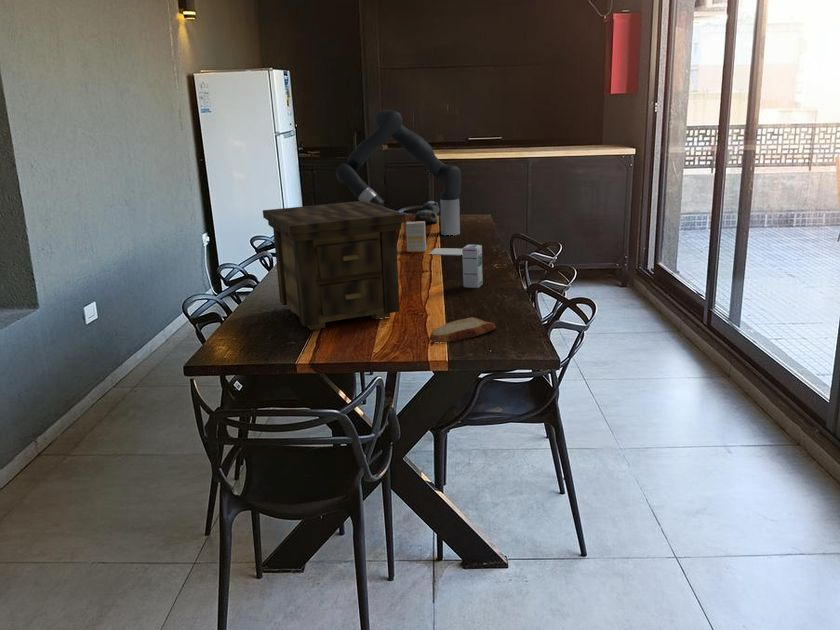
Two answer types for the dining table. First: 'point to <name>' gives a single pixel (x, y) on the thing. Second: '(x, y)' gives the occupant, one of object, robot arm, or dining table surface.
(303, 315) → the wooden bedside nightstand
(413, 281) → the dining table surface
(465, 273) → the syrup box
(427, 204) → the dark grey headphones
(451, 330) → the slice of bread
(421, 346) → the dining table surface
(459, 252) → the felt pad
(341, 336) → the dining table surface
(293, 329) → the dining table surface
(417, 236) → the supplement box
